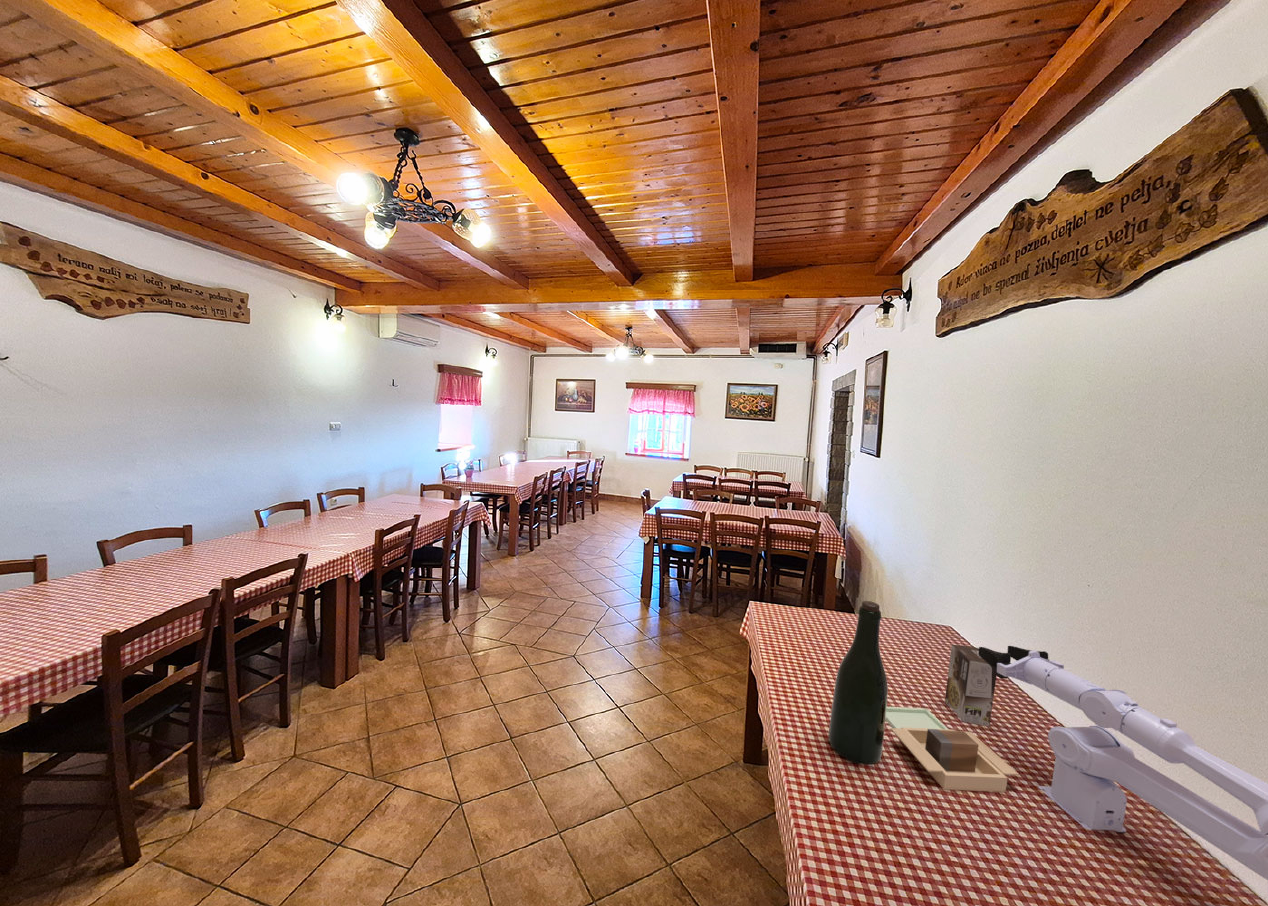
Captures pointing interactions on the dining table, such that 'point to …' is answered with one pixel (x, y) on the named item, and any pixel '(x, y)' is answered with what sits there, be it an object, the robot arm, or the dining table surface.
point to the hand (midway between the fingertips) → (994, 650)
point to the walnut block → (952, 749)
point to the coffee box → (970, 685)
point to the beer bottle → (861, 694)
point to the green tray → (912, 718)
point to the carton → (983, 779)
